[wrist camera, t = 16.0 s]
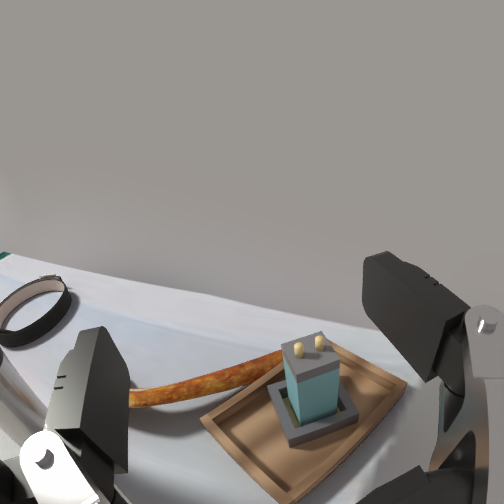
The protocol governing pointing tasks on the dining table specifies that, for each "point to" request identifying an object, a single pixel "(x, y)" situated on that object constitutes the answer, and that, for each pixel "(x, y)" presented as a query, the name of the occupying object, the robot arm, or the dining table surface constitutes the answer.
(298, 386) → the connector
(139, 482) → the dining table surface
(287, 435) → the socket
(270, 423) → the walled box
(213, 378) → the bone
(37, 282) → the belt
